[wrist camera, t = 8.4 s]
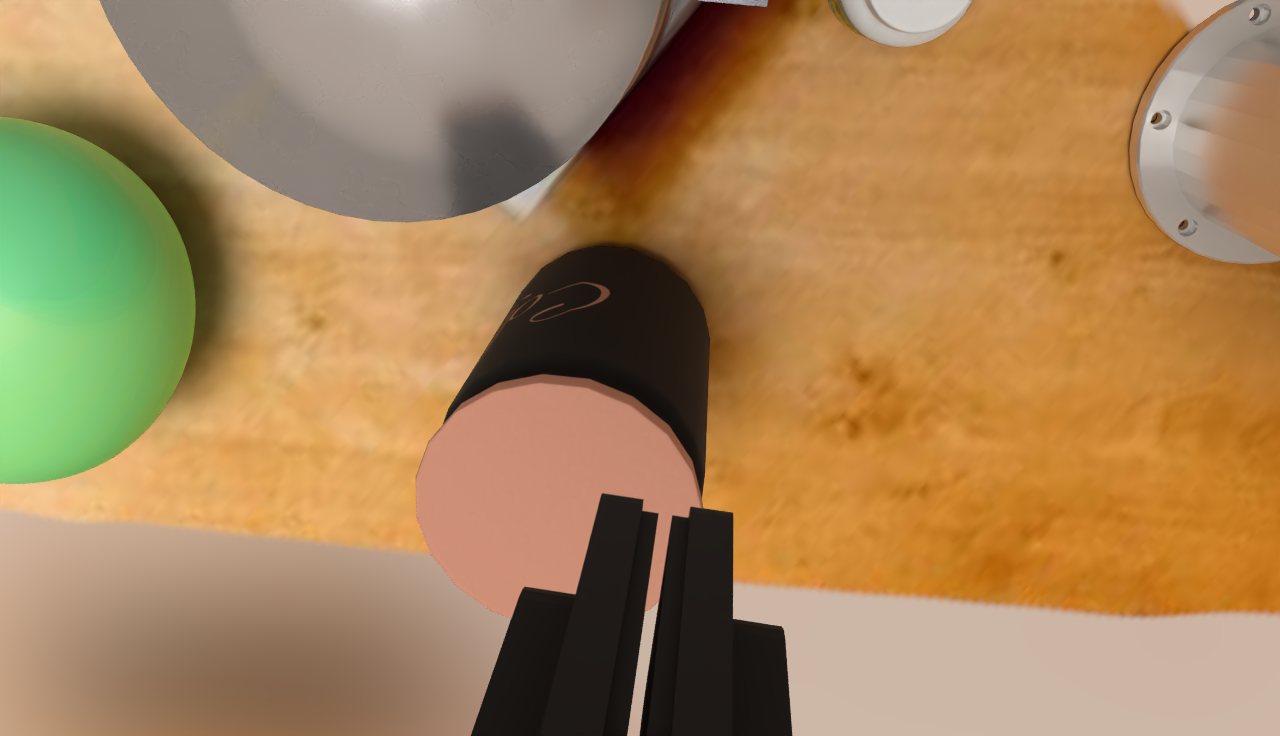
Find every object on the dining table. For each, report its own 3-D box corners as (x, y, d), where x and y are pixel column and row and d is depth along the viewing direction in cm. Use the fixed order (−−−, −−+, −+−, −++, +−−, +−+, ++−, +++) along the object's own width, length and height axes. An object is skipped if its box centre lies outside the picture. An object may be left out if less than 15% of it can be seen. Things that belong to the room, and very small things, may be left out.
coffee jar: (621, 197, 46) (565, 322, 30) (750, 348, 49) (764, 538, 33) (475, 320, 50) (353, 493, 33) (603, 455, 52) (549, 676, 36)
